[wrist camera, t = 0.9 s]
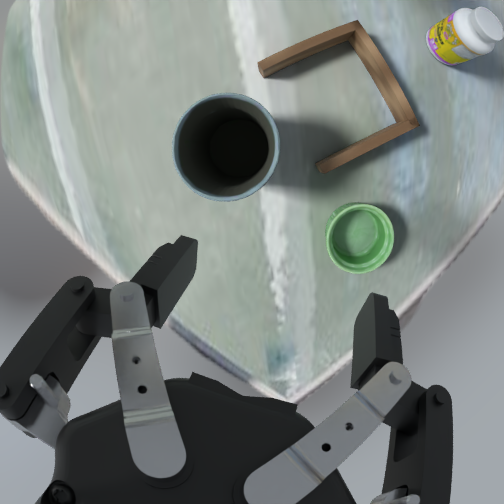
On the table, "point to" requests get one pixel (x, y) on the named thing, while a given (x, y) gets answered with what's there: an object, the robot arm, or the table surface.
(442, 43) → the supplement bottle
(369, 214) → the ramekin
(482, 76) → the table surface
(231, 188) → the blue-grey plant pot
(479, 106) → the table surface
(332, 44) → the brown piece
